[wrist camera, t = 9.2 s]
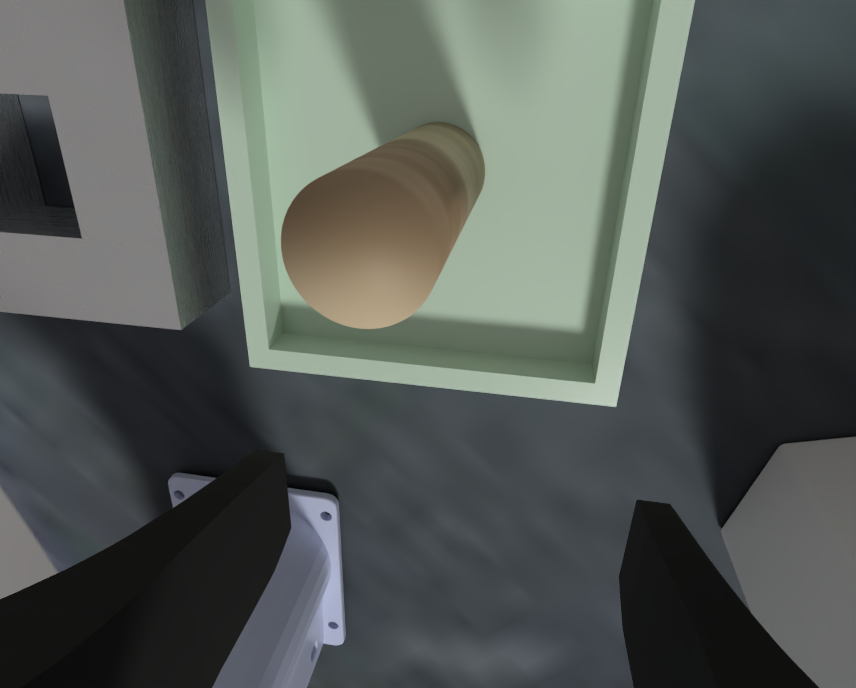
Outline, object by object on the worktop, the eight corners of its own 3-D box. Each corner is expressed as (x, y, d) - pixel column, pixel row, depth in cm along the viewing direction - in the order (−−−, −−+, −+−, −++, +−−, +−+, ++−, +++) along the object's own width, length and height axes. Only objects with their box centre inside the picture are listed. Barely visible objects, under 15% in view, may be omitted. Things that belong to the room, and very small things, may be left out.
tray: (610, 378, 22) (616, 406, 20) (272, 343, 23) (249, 366, 22) (696, -91, 15) (716, -110, 14) (228, -88, 17) (192, -105, 15)
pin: (482, 221, 19) (436, 336, 11) (392, 216, 20) (287, 321, 12) (488, 124, 18) (442, 174, 10) (391, 120, 18) (273, 165, 10)
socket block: (230, 292, 23) (181, 330, 20) (1, 272, 24) (-79, 303, 21) (190, -9, 18) (119, -23, 15) (-87, -13, 20) (-204, -26, 17)
